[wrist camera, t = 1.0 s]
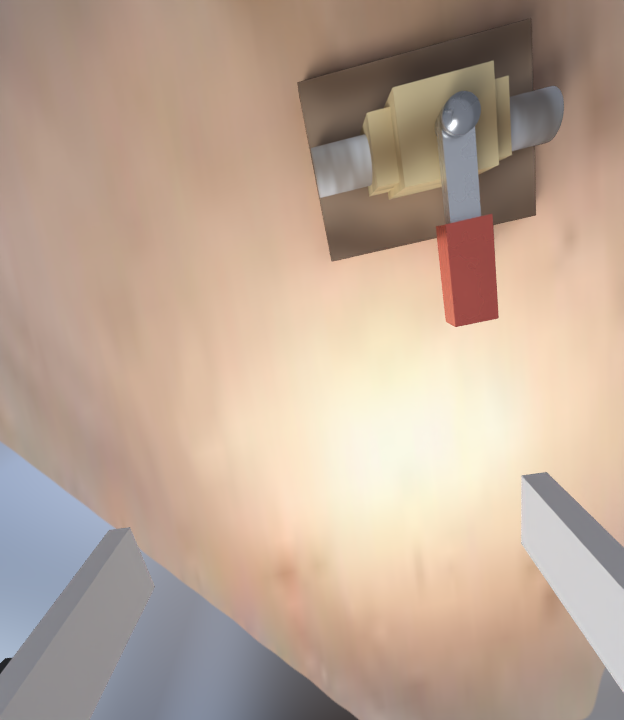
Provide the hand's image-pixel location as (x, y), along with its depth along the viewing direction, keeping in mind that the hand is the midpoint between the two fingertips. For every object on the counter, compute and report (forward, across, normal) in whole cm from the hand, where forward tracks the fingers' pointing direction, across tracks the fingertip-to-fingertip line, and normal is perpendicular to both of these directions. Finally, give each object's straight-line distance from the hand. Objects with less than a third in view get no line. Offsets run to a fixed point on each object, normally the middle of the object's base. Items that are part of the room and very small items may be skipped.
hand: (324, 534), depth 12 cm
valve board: (+25, +11, +15) cm, 32 cm away
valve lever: (+17, +11, +9) cm, 23 cm away
